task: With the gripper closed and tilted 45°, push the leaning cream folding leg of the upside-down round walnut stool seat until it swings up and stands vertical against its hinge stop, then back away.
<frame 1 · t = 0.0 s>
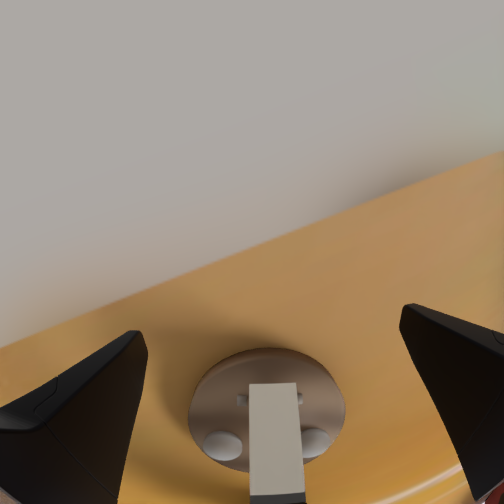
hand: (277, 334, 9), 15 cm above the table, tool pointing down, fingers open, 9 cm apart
folding leg: (273, 446, 17), point 8 cm above the table, hinge at 35.0°
stool seat: (266, 412, 25), on the table
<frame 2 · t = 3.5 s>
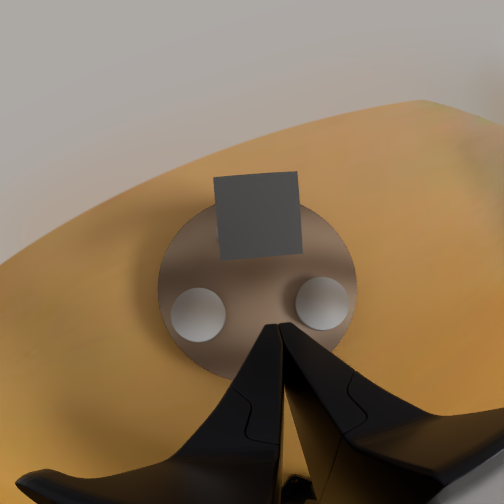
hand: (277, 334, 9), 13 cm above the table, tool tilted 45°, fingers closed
folding leg: (254, 213, 17), point 8 cm above the table, hinge at 35.0°
stool seat: (257, 289, 23), on the table
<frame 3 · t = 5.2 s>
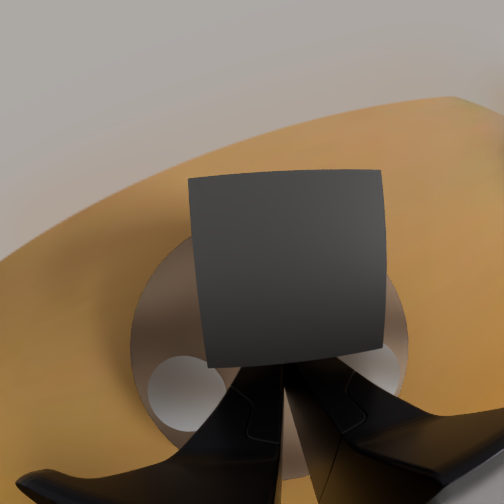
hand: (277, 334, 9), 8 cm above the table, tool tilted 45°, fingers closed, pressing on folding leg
folding leg: (272, 248, 10), point 8 cm above the table, hinge at 31.7°, touching gripper
stool seat: (270, 346, 16), on the table
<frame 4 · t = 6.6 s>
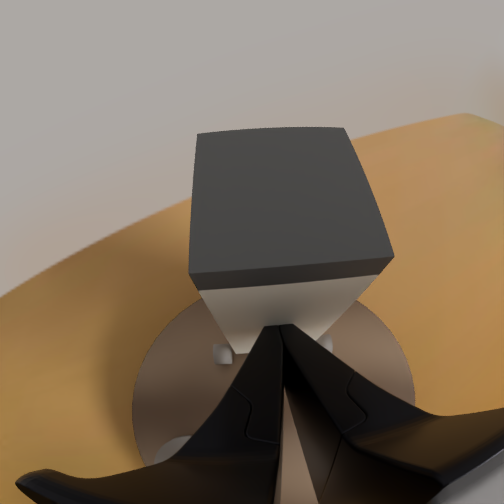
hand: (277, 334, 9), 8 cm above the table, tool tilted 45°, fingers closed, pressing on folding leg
folding leg: (273, 279, 10), point 8 cm above the table, hinge at -2.2°, touching gripper
stool seat: (275, 415, 14), on the table
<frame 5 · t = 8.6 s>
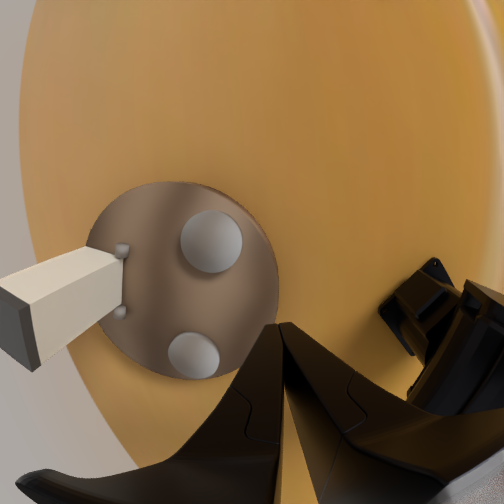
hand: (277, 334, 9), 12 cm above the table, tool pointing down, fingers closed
folding leg: (60, 297, 14), point 8 cm above the table, hinge at -2.2°
stool seat: (179, 281, 21), on the table
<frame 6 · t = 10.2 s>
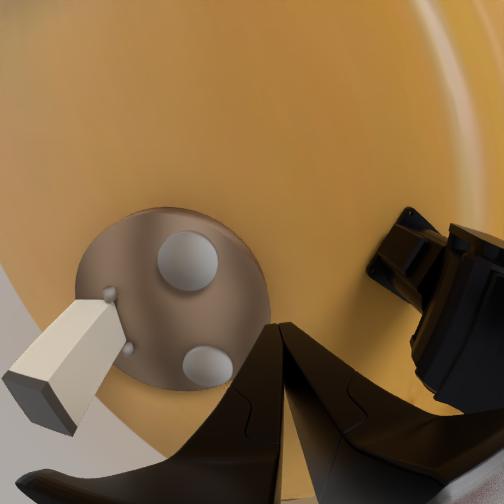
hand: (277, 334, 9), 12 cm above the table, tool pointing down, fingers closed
folding leg: (70, 358, 14), point 8 cm above the table, hinge at -2.2°
stool seat: (171, 302, 22), on the table
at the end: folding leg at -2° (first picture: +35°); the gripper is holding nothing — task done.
